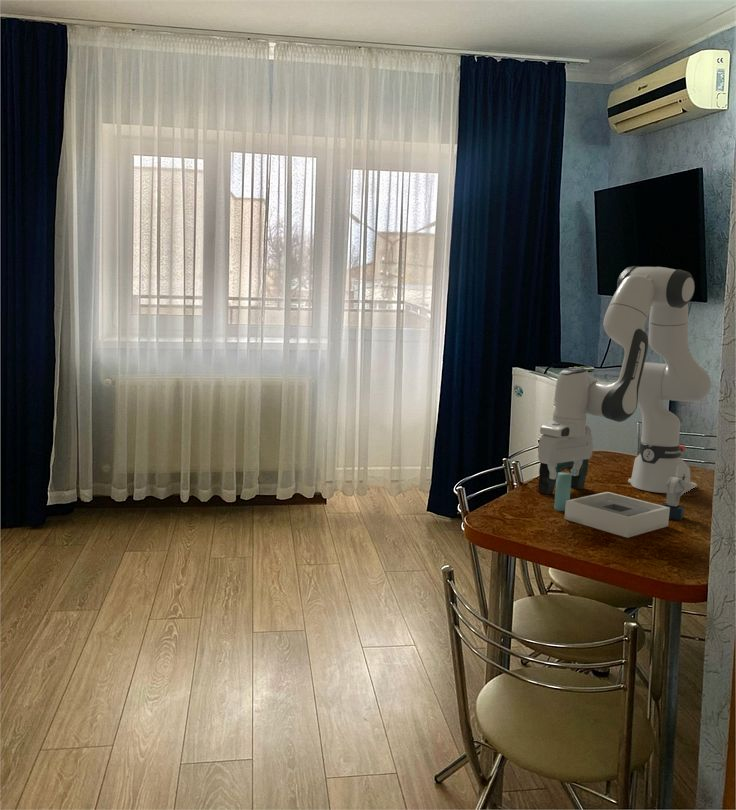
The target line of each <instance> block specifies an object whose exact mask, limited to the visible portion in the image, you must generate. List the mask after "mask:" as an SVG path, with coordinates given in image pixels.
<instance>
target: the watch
mask: <svg viewBox="0 0 736 810" xmlns="http://www.w3.org/2000/svg"><path fill="white" fill-rule="evenodd" d="M665 485H667V487H668V492H667V493H666V500H665V501H666V502H663V503H661V505H662V506H665V507H669V508H670V512H669V519H670V520H676V521H682V519H683V518H684V517H685V516H684V515H685V505H681V504H679V503H680V499H681V497H682V496H683V495H684V494H683V492H684V490H685V488H686V483H685V481H684V480H682V479H681V478H678V477H670V479H669V480H668V483H666V484H665Z"/></svg>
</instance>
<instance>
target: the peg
mask: <svg viewBox="0 0 736 810" xmlns="http://www.w3.org/2000/svg"><path fill="white" fill-rule="evenodd" d="M571 478H572V474H570V472H562V471H561V472H559V473H558V479H556V482H555V493H554V505H553V506H554V507H553V509H554V510H555V511H558V512H565V505H566V501H567V500H571Z"/></svg>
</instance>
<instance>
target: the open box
mask: <svg viewBox="0 0 736 810" xmlns="http://www.w3.org/2000/svg"><path fill="white" fill-rule="evenodd" d="M669 512H670V508H669V507H665V506H662V504H658V503H653V502H650V501H646V500H641V499H637V498H634V497H629V496H627V495H622V494H619V493H614V492H609V491H604V492H600V493H595V494H590V495H586V496H581V497H577V498H572V499H571V498H570V500H567V501H566V505H565V511H564V518H563V519H564V520H566V521H568V522H569V521H570V522H573V523H576V524H579V525H583V526H587V527H589V528H590V527H591V528H593V529H597V530H600V531H603V532H607V533H611V534H613V535H617V536H620V537H624V538H628V539H629V538H631V537H635V536H639V535H642V534H645V533H649V532H653V531H656V530H659V529H662V528H666V527H669Z"/></svg>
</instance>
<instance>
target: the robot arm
mask: <svg viewBox="0 0 736 810" xmlns="http://www.w3.org/2000/svg"><path fill="white" fill-rule="evenodd" d="M616 283H617V284H616V291H615V292H614V293H613V296H612V298H611V300H610V302H609V305H608V307H607V310H606V312H605V314H604V318H603V323H602V324H603V329H604V332H605V334H606V335H607V337H609V338H610V339H611V340H612V341H614V342H615V343H616V344H618V345H620V346H621V347H622V348H623V350H624V356H623V360H622V365H621V369H620V373H619V378H618V380H616V381H615V382H608V381H602V380H598V379H597V378H595V377H593V376H592V375H591V374H589V371H588V369H586V368H583V367H566V368H564V369H562V370H560V372H559V373H558V376H557V379H556V382H555V383H556V384H555V390H554V405H555V407H554V411H553V414H552V418H551V419H550V420H549V421H548V422H546V423H545V424H543V425H541V426H540V428H539V433H540V434H541V436H540V438H539V443H538V445H539V450H538V449H537V452H538V453H537V455H538V456H537V457H538V461H539V463H545V464H548V465H547V466H548V469H549V472H550V476H549V477H550V479H558V473H557V472H556V468H555V467H557V463H563V462H570V461H573V462H574V465H573V468H572V469H571V472H569V473H570V474H572V476H578V475H579V469H580V467H581V465H582V463H583V460H584V459H588V460H589V459H591V458H592V457H593V446H594V445H593V444H594V443H593V435H592V430H591V428H590V427H589V425H587V414H588V415H592V416H595V417H599V418H606V419H608V420H611V421H614V422H618V423H621V422H624V421H626V420H628V419H629V418H630V417H632V415H633V414H634V413H635V412H636V409H637V406H638V407H639V410H640V414H641V421H642V423H641V440H640V441H639V445H638V453H639V454H638V455H637V456H636V457H635V459H634V461H633V466H632V467H633V468H632V473H631V477H630V478H628V480H627V483H630V485H631V486H632V487H634V488H635V489H638V490H642V491H646V492H652V493H657V494H658V493H661V494H667V492H668V487H667V485H665V484H666V483H668V480H669V479H670V477H678V478H681V479H682V480H684V481H685V483H686V488H685V490H684V492H683V494H682V495H685V494H686V492H687V493H689V492H690V490H691V489H693V488H695V487H696V486H697V487H698V483H695V482H693V481H691V468H690V467H689V466H688V464H687V463H686V462H685V461H684V460H683V459H682V457H681V456H682V454H681V453H682V452H685V450H686V446H685V445H683V444H680V435H681V434H680V433H681V426H682V425H681V420H680V418H679V417H678V416H677V415H676V414H675V413H673V412H672V411H670V410H669V409H667V408H666V407H665V405H664V401H663V400H667V401H675V402H684V403H686V402H687V403H688V402H689V403H690V402H701V401H703V400H704V399H705V398H706V397H707V396H708V394H709V393H710V390H711V387H712V381H711V378H710V375H709V373H708V372H707V371H706V370H705V369H704V368H702V366H701V365H699V364H698V363H697V361H696V359H695V358H694V357H693V356H692V353H691V351H690V347H689V338H688V337H689V336H688V335H689V333H688V332H689V331H688V325H689V302H690V301H691V300H692V299H693V297H694V295H695V288H696V283H695V279H694V277H693V276H692V274H691V272H689V271H687V270H682V269H674V268H669V267H663V266H639V265H632V266H628V267H626V268H625V269H624V270H623V271H622V272H621V273H620V274H619V276H618V278H617V282H616ZM647 321H648V334H647V332H646V330H645V328H646V323H647ZM648 348H650V349H651V350H652V351H653V352H654V353H656V354H658V355H659V356H660V357H662V358H663V359H664V361H665V362H666V363H662V362H661V363H659V362H658V363H657V362H651V361H649V362H648V361H647V362H646V358H647V353H648ZM697 487H696V488H697ZM696 488H695V489H696ZM693 490H694V489H693ZM688 491H689V492H688ZM691 491H692V490H691ZM684 493H685V494H684Z"/></svg>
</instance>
